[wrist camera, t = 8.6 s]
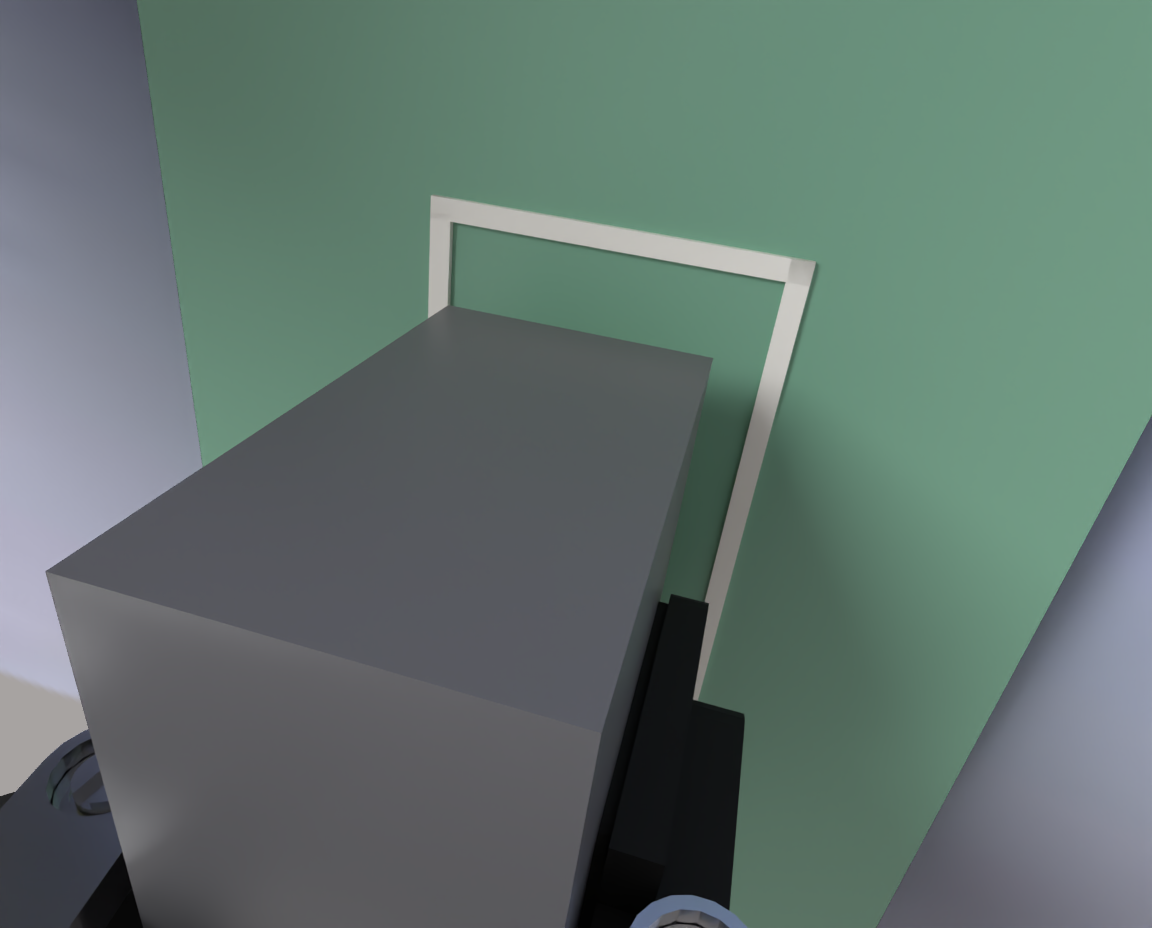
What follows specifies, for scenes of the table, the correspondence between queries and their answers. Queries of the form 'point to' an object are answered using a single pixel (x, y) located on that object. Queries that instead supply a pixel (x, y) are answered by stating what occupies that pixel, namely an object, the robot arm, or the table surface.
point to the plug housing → (390, 635)
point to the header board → (727, 317)
